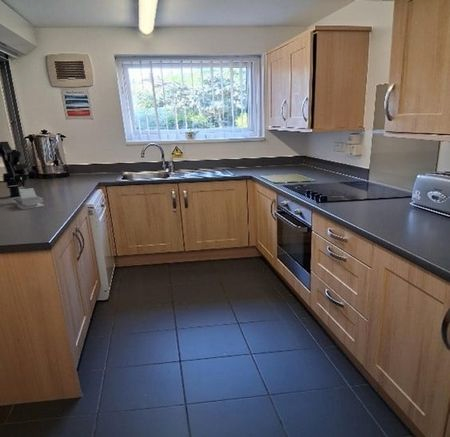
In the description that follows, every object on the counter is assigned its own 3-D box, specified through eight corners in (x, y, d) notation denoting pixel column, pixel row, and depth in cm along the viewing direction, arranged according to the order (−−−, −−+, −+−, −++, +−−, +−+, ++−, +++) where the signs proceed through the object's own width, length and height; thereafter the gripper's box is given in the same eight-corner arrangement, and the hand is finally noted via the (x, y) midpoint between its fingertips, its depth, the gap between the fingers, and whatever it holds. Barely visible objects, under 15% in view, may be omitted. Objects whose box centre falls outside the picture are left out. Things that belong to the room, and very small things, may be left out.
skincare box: (33, 187, 225) (37, 196, 214) (34, 196, 227) (38, 205, 216) (17, 189, 220) (21, 198, 209) (19, 198, 223) (23, 207, 212)
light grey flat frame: (10, 201, 234) (9, 197, 233) (33, 197, 243) (32, 194, 242) (18, 206, 218) (18, 202, 217) (43, 202, 227) (42, 198, 226)
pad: (17, 206, 217) (17, 205, 217) (38, 203, 225) (38, 202, 225) (23, 209, 209) (22, 208, 209) (44, 205, 217) (44, 205, 217)
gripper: (0, 160, 221) (7, 180, 216) (33, 158, 233) (40, 176, 228) (-1, 172, 229) (7, 191, 224) (31, 169, 241) (39, 187, 236)
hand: (23, 186), depth 228 cm, fingers closed
